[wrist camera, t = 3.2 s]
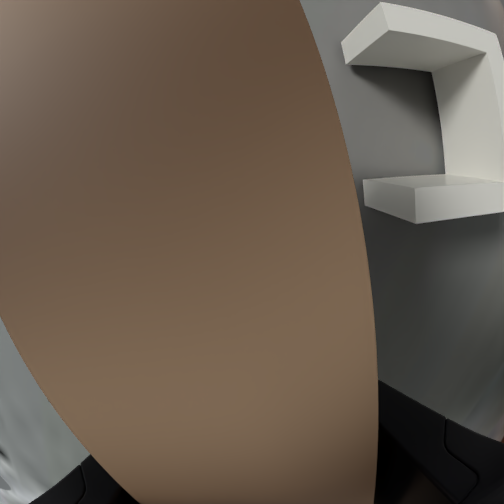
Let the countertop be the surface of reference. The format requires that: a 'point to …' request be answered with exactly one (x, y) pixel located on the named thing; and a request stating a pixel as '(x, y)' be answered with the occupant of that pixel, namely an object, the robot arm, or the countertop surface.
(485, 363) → the countertop surface
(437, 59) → the cap
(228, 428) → the brown bar
